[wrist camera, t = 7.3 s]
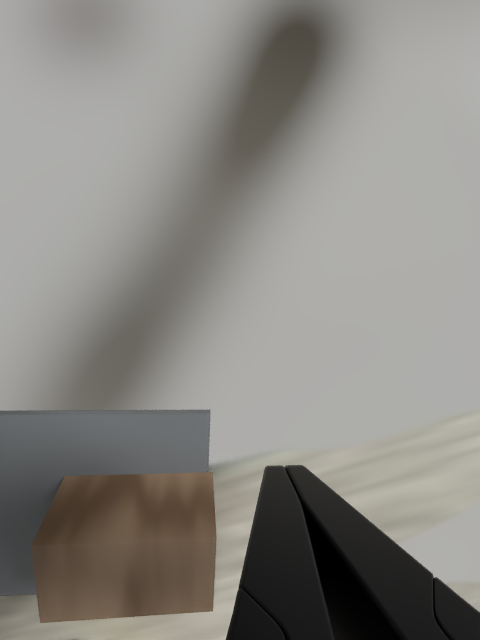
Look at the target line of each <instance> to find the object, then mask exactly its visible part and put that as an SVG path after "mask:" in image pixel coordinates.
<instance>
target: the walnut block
mask: <svg viewBox="0 0 480 640" xmlns="http://www.w3.org/2000/svg"><path fill="white" fill-rule="evenodd" d="M31 550H32V558H33V567H34V575H35V583H36V591H37V599H38V608H39V616H40V623H46V622H61V621H76V620H90V619H105V618H120V617H135V616H149V615H164V614H179V613H194V612H209V611H213V599H214V577H215V556H216V523H215V506H214V490H213V473H212V472H204V473H164V474H124V475H84V476H65V477H64V479H63V481H62V483H61V485H60V487H59V489H58V491H57V493H56V495H55V497H54V499H53V501H52V504H51V506H50V508H49V510H48V512H47V514H46V516H45V518H44V520H43V522H42V524H41V526H40V528H39V530H38V532H37V534H36V536H35V538H34V540H33V543H32V545H31Z"/></svg>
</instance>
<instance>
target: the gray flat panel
mask: <svg viewBox="0 0 480 640" xmlns="http://www.w3.org/2000/svg"><path fill="white" fill-rule="evenodd" d="M209 436H210V410H70V411H69V410H67V411H0V596H12V595H29V594H37V591H36V583H35V575H34V567H33V558H32V550H31V545H32V543H33V540H34V538H35V536H36V534H37V532H38V530H39V528H40V526H41V524H42V522H43V520H44V518H45V516H46V514H47V512H48V510H49V508H50V506H51V504H52V501H53V499H54V497H55V495H56V493H57V491H58V489H59V487H60V485H61V483H62V481H63V479H64V477H65V476H84V475H124V474H164V473H204V472H208V462H209Z"/></svg>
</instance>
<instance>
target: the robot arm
mask: <svg viewBox="0 0 480 640" xmlns="http://www.w3.org/2000/svg"><path fill="white" fill-rule="evenodd" d="M226 640H480V612H479V611H477V610H476V609H475V608H474V607H472V606H471V605H470V604H469V603H467V602H466V601H465V600H464V599H463V598H461V597H460V596H459V595H458V594H456V593H455V592H454V591H453V590H452V589H450V588H449V587H448V586H447V585H446V584H444V583H443V582H442V581H441V580H439V579H438V578H437V577H435V578H433V574H432V573H431V572H430V571H429V570H427V569H426V568H425V567H424V566H423V565H421V564H420V563H419V562H418V561H417V560H415V559H414V558H413V557H412V556H411V555H410V554H408V553H407V552H406V551H405V550H403V549H402V548H401V547H400V546H399V545H398V544H396V543H395V542H394V541H393V540H392V539H390V538H389V537H388V536H387V535H386V534H384V533H383V532H382V531H381V530H380V529H378V528H377V527H376V526H375V525H374V524H373V523H371V522H370V521H369V520H368V519H367V518H365V517H364V516H363V515H362V514H361V513H359V512H358V511H357V510H356V509H355V508H353V507H352V506H351V505H350V504H349V503H347V502H346V501H345V500H344V499H343V498H341V497H340V496H339V495H338V494H337V493H336V492H334V491H333V490H332V489H331V488H330V487H328V486H327V485H326V484H325V483H324V482H322V481H321V480H320V479H319V478H318V477H316V476H315V475H314V474H313V473H312V472H310V471H309V470H308V469H307V468H306V467H304V466H302V465H287V466H285V467H283V466H266V467H265V470H264V474H263V479H262V483H261V488H260V492H259V497H258V502H257V506H256V511H255V515H254V520H253V524H252V529H251V534H250V538H249V543H248V547H247V552H246V556H245V561H244V566H243V570H242V575H241V579H240V584H239V590H238V592H237V596H236V601H235V606H234V610H233V614H232V618H231V622H230V626H229V630H228V633H227V637H226Z"/></svg>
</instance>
